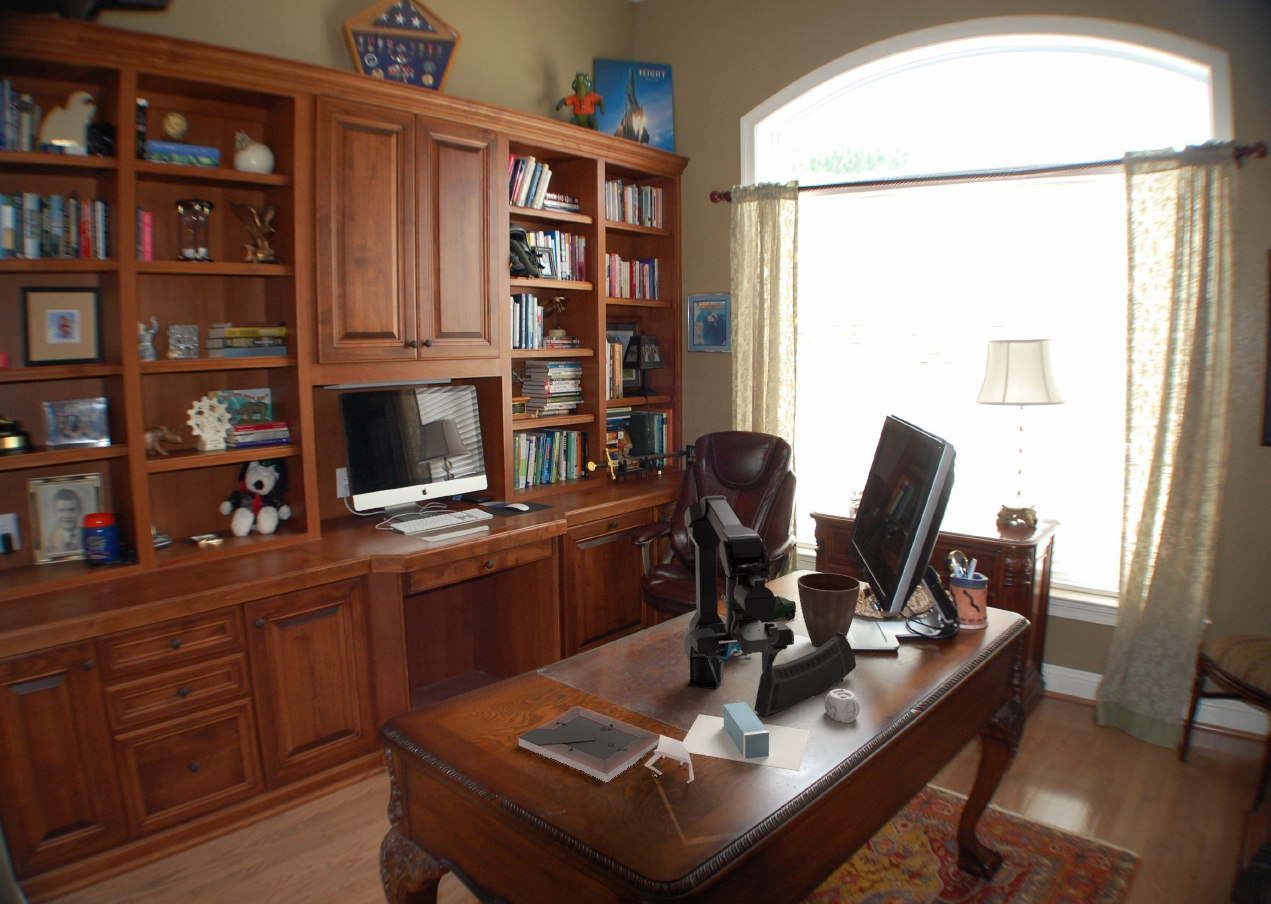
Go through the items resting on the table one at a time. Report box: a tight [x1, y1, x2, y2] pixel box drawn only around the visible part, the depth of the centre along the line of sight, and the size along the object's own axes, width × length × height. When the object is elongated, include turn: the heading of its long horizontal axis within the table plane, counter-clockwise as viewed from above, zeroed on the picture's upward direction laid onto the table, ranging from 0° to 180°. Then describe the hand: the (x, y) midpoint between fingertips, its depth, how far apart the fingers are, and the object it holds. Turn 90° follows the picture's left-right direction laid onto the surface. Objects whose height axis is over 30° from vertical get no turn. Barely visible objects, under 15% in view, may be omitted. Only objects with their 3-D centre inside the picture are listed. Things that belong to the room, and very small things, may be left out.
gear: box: [722, 642, 753, 661], centre depth 191 cm, size 11×6×10 cm
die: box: [823, 688, 861, 724], centre depth 160 cm, size 5×5×5 cm
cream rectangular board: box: [681, 713, 811, 771], centre depth 151 cm, size 22×15×1 cm
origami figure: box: [643, 734, 695, 784], centre depth 140 cm, size 12×8×5 cm
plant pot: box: [797, 572, 861, 649], centre depth 197 cm, size 15×15×16 cm
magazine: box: [753, 632, 857, 717], centre depth 169 cm, size 17×3×30 cm
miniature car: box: [761, 592, 797, 623], centre depth 215 cm, size 9×18×8 cm, turn 124°
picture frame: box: [518, 705, 660, 783], centre depth 151 cm, size 16×2×22 cm
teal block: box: [723, 701, 769, 759], centre depth 150 cm, size 4×4×12 cm
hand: (741, 680), depth 151 cm, fingers open, 9 cm apart
